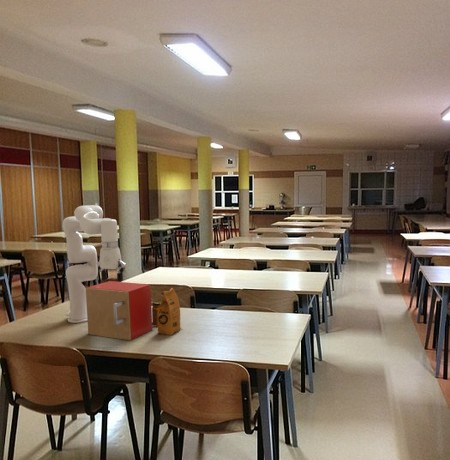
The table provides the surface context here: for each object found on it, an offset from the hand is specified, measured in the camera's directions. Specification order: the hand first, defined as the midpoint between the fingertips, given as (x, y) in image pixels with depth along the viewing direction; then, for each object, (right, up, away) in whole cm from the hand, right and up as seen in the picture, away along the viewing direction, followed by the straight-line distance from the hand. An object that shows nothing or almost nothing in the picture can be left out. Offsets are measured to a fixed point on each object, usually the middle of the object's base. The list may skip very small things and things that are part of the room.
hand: (112, 280), depth 235 cm
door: (-5, -29, +7) cm, 31 cm away
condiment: (+17, -26, +31) cm, 44 cm away
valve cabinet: (+1, -28, +18) cm, 33 cm away
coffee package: (+26, -28, +17) cm, 42 cm away
